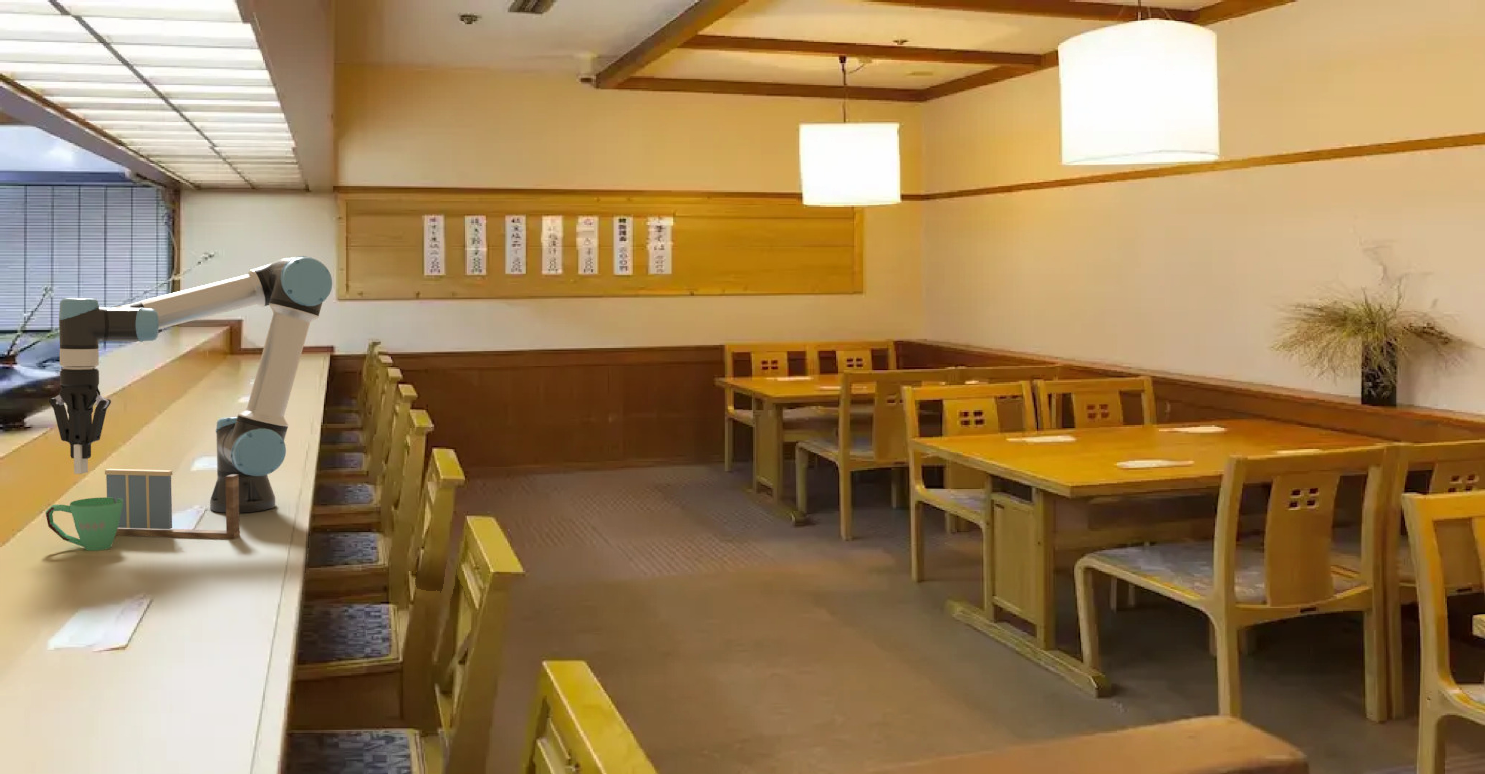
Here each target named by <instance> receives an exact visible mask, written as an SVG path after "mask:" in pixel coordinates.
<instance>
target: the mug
mask: <svg viewBox="0 0 1485 774" xmlns="http://www.w3.org/2000/svg"><path fill="white" fill-rule="evenodd" d="M122 506H123V500H122V499H119V498H118V499H117V503H115V500H114V498H111V497H107V496H105V497H103V496H102V497H89V498H82V499H77V500H74V501H71V502H70V503H69V505H66V504H51V506H49V508H48V509H47V510H46V511H45V516H46V517H45V518H46V521H47V527H48V528H49V529H50V530H51V531H53V533H55V535H57V536H58V537H60V538H61V539H62V540H63V541H66V542H69V543H71V544H75V545H77V546H79V547H83V548H84V550H85V551H88V552H89V551H92V552H94V551H95V552H96V551H97V552H98V551H103V550H108V549H111V548H112V545H113V542H114V540H115V539H116V536H115V535H116V532H117V529H118V525H119V520H120V515H121V511H122ZM60 511H61V512H65V513H69V514H71V515H72V518H73V522H74V528H75V530H76V533H77V536H78V538H77V537H75V536H71V535H69V534H67V533H65V531H64V530H63V529H62V528H60V527H59V525H57V523H55V522H54V518H53V517H54V516H53V514H54V512H60Z"/></svg>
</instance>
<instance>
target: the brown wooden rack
mask: <svg viewBox="0 0 1485 774" xmlns="http://www.w3.org/2000/svg"><path fill="white" fill-rule="evenodd" d="M225 477H226V513H225V519H226V529H225V530H224V529H223V530H222V529H220V530H218V529H185V528H183V529H182V528H181V529H179V528H171V529H146V528H118V529H117V532H116V535H115V537H116V536H121V537H124V536H125V537H152V538H156V537H157V538H193V539H196V538H197V539H221V540H222V539H223V540H225V539H227V540H229V539H232V540H235V539H237V538H238V537H241V530H240V513H239V475H238V474H231V475H228V476H225Z"/></svg>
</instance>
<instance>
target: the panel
mask: <svg viewBox="0 0 1485 774" xmlns="http://www.w3.org/2000/svg"><path fill="white" fill-rule="evenodd" d="M104 475H106V478H105V480H106V481H105V482H106V497H111V498H114V500H115V503H117V499H118V498H119V499H122V500H123V506H122V511H121V515H120V520H119V525H118V528H146V529H173V507H172V505H173V504H172V500H173V499H172V496H173V495H172V475H173V470H167V469H166V470H165V469H164V470H163V469H134V468H133V469H132V468H131V469H128V468H127V469H124V468H107V469H104Z"/></svg>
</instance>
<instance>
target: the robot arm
mask: <svg viewBox="0 0 1485 774" xmlns="http://www.w3.org/2000/svg"><path fill="white" fill-rule="evenodd" d="M332 288H333V277H332V274H331V273H330V271H329V269H328V268H327V266H326V265H325V264H324V263H322V261H320V260H318V259H316V258H313V257H309V256H306V255H300V256H299V255H298V256H287V257H283V258H281V259H278V260H276V261H274V262H273V261H272V262H271V263H269V264H268V263H267V264H266V265H262V266H259V267H256V268H252V269H249V271H248V273H247V274H243V275H240V276H236V277H232V278H228V279H224V280H221V281H215V282H212V283H208V284H205V285H200V286H196V287H192V288H188V289H184V290H183V289H182V290H179V291H175V292H172V293H167V294H163V295H160V296H159V295H158V296H155V297H151V298H147V299H143V300H140V301H135V302H131V303H128V304H122V305H120V304H119V305H114V306H111V307H103V306H100V305H99V301H98V299H96V298H88V297H87V298H85V297H81V298H80V297H64V298H63V299H61V300H60V301H59V312H58V313H59V315H58V326H59V327H58V330H59V333H58V334H59V366H60V367H62V368H61V369H60V370H59V383H60V387H61V388H60V390H59V394H58V395H57V396H54V397H52V398H49V399H48V402H49V404H50V406H51V408H52V409H53V413H54V416H55V420H56V424H57V428H58V433H59V436H60V439H61V441H62V442H66V443H69V445H70V446H69V447H70V458H71V459H73V474H74V475H83V474H86V473H88V472H89V465H88V464H89V460H88V459H90V458H91V457H92V444H93V443H95V442H98V441H100V440H101V436H102V431H103V428H104V423H105V422H104V421H105V418H106V414H107V409H108V408H109V407H110V405H111V403H112V400H111V399H109V398H105V397H103V396H102V395H101V391H100V389H99V384H100V370H99V368H97V367H98V366H99V364H100V363H99V361H100V360H99V359H100V357H99V356H100V355H99V353H100V352H99V348H100V347H99V342H100V341H101V342H107V341H109V342H140V343H142V342H153V341H155V340H157V338H158V336H159V330H162V329H165V328H169V327H174V326H176V325H177V326H178V325H181V324H185V323H188V322H192V321H195V320H200V319H205V318H208V317H212V316H215V315H216V316H217V315H220V314H223V313H227V312H230V311H236V310H239V309H242V308H247V307H251V306H254V305H255V306H256V305H258V306H259V307H262V308H263V307H267V306H269V307H270V309H271V310H272V312H273V314H272V316H271V317H272V318H271V322H270V324H269V329H268V332H267V335H266V339H265V342H264V347H263V349H262V353H261V355H260V356H261V357H260V360H259V364H258V368H257V371H256V375H255V379H254V381H253V386H252V389H251V393H250V396H249V399H248V403H247V406H246V409H244V410H242V411H241V412H239V413H237V417H221V418H219V419H218V420H217V422H216V427H215V428H216V429H215V434H216V470H217V471H216V472H217V474H216V475H217V476H216V477H217V478H216V481H215V485H214V488H213V491H212V494H211V497H210V500H209V505H210V506H209V510H211V511H213V512H216V513H217V512H218V513H225V514H226V477H225V476H228V475H231V474H238V475H239V514H241V513H253V512H255V513H256V512H261V511H266V510H271V509H273V508H275V507H276V496H275V492H274V490H273V487H272V485H271V482H270V480H269V475H270V474H272V473H274V472H275V471H277V470H278V469H279V468H280V467H281V465H282V464H283V462H284V461H285V458H286V453H287V448H286V447H287V446H286V443H285V439H286V435H287V432H288V428H289V424H288V423H287V421H286V419H285V415H286V409H287V407H288V404H289V399H290V396H291V392H292V389H293V386H294V382H295V378H296V375H297V370H298V367H299V363H300V361H301V357H302V354H303V349H304V345H305V342H306V338H307V335H308V332H309V329H310V323H312V322H313V321H314V320H317V319H318V318H319V316H320V312H321V310H322V305H323V303H324V302H325V301H326V300H327V298H328V297H329V295H330V294H331V292H332ZM65 405H66V406H65ZM94 405H95V406H96V407H95V409H94ZM93 412H94V413H93ZM92 414H93V415H92Z"/></svg>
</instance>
